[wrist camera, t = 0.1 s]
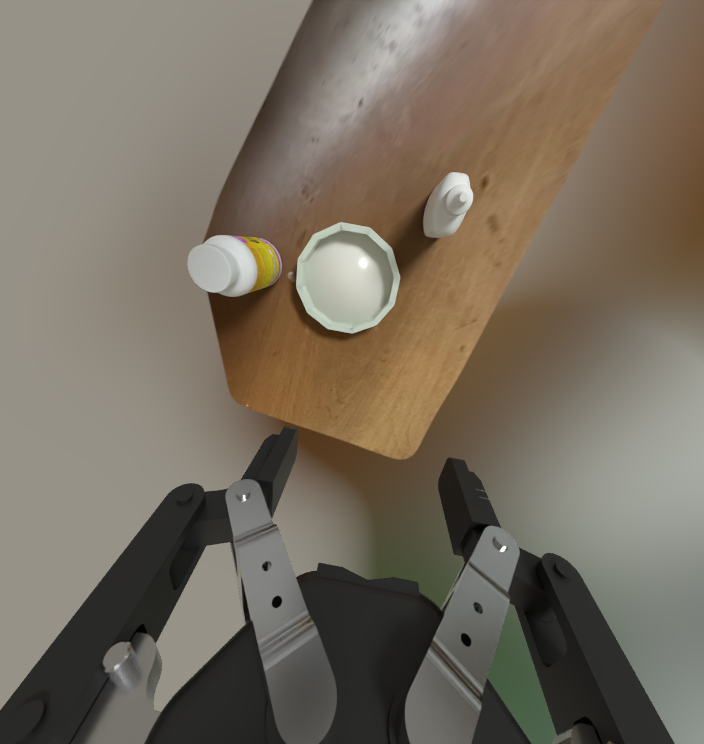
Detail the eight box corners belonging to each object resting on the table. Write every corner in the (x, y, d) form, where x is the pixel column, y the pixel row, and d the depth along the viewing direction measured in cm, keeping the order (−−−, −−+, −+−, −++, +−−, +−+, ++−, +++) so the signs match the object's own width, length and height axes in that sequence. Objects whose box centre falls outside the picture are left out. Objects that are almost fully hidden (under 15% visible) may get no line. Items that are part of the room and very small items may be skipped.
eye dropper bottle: (409, 222, 34) (422, 210, 24) (440, 179, 32) (470, 145, 21) (434, 244, 35) (457, 242, 24) (466, 204, 33) (507, 183, 22)
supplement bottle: (278, 235, 37) (231, 230, 25) (286, 285, 39) (247, 300, 28) (233, 239, 37) (167, 236, 26) (244, 288, 40) (190, 304, 29)
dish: (305, 217, 35) (300, 215, 33) (408, 235, 35) (410, 234, 33) (298, 318, 41) (293, 322, 39) (385, 334, 41) (386, 339, 39)
